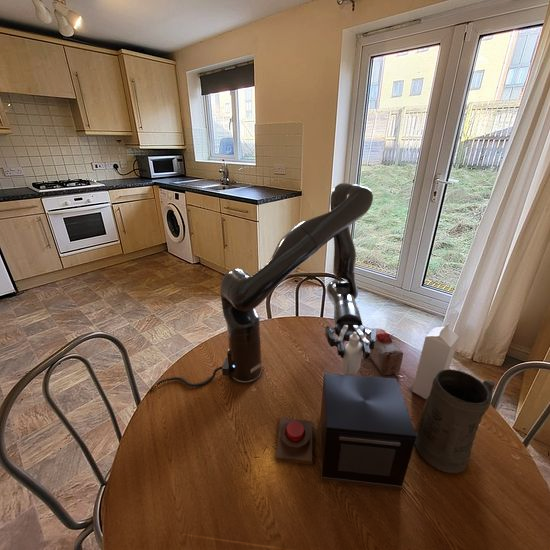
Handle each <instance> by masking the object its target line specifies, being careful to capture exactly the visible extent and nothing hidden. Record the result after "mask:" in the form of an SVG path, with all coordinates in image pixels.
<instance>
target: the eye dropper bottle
mask: <svg viewBox="0 0 550 550" xmlns="http://www.w3.org/2000/svg"><path fill="white" fill-rule="evenodd" d="M359 339H360V338H359V336H358V335H357V333H356V332H354V333H353V334H352V335H350V337H349V341H348V343H347V344H346V345H345V346H344V358H341V367H340V371H341V373H342V374H343V375H355V374H356V373H358V371H359V370H360V368H361V365H362V364H361V363H362V357H363V351H362V349H363V345H362V344H361V343H360V342H359Z"/></svg>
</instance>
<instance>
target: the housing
mask: <svg viewBox="0 0 550 550" xmlns="http://www.w3.org/2000/svg"><path fill="white" fill-rule="evenodd" d="M293 421H297V422H299V423H301V424H302V425H303V427H304V436H303V438H302V440H300V441H298V442H293V441H291V440H289V439H288V437H287V425H288V424H289V423H290V422H293ZM275 461H277V462H285V463H296V464H304V465H313V421H312V420H305V419H304V420H303V419H293V418H282V417H280V418H279V426H278V433H277V442H276V450H275Z"/></svg>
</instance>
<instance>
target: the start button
mask: <svg viewBox="0 0 550 550" xmlns="http://www.w3.org/2000/svg"><path fill="white" fill-rule="evenodd" d="M303 436H304V427H303V425H302V424H301V423H299V422H297V421H293V422H290V423H289V424H288V425H287V437H288V439H289V440H291V441H293V442H298V441H300V440H302V438H303Z"/></svg>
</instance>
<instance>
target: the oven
mask: <svg viewBox="0 0 550 550" xmlns="http://www.w3.org/2000/svg"><path fill="white" fill-rule="evenodd" d="M319 426H320V427H319V429H320V430H319V431H320V432H319V436H320V437H319V438H320V471H321V472H320V473H321V481H328V482H335V483H336V482H337V483H343V484H353V485H362V486H370V487H379V488H386V489H396V490H402V488H403V485H404V481H405V478H406V474H407V471H408V467H409V464H410V461H411V457H412V454H413V450H414V446H415V440H416V433H417V432H416V431H415V428H414V425H413V421H412V419H411V415H410V413H409V411H408V408H407V405H406V402H405V399H404V396H403V393H402V390H401V387H400V385H399V381H398V379H397V378H391V377H380V376H367V375H355V374H353V375H345V374H341V373H340V374H339V373H328V372H327V373H326V372H324V373H323V381H322V393H321V407H320V420H319Z"/></svg>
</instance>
